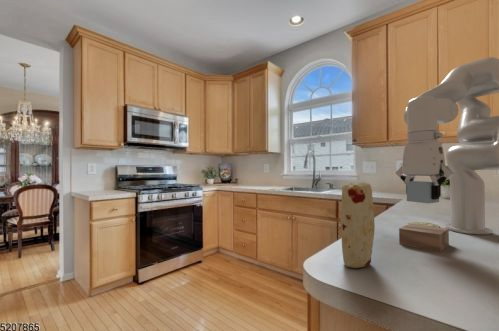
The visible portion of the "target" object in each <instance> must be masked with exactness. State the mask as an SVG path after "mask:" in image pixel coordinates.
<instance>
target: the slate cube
mask: <svg viewBox="0 0 499 331" xmlns="http://www.w3.org/2000/svg"><path fill="white" fill-rule="evenodd" d="M432 186H433V182H432V181H422V180H417V181H416V180H414V181H408V182H407V194H406V202H413V203H422V204H435V203H440V198H439V199H435V200H434V199H432V193H431V187H432Z"/></svg>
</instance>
